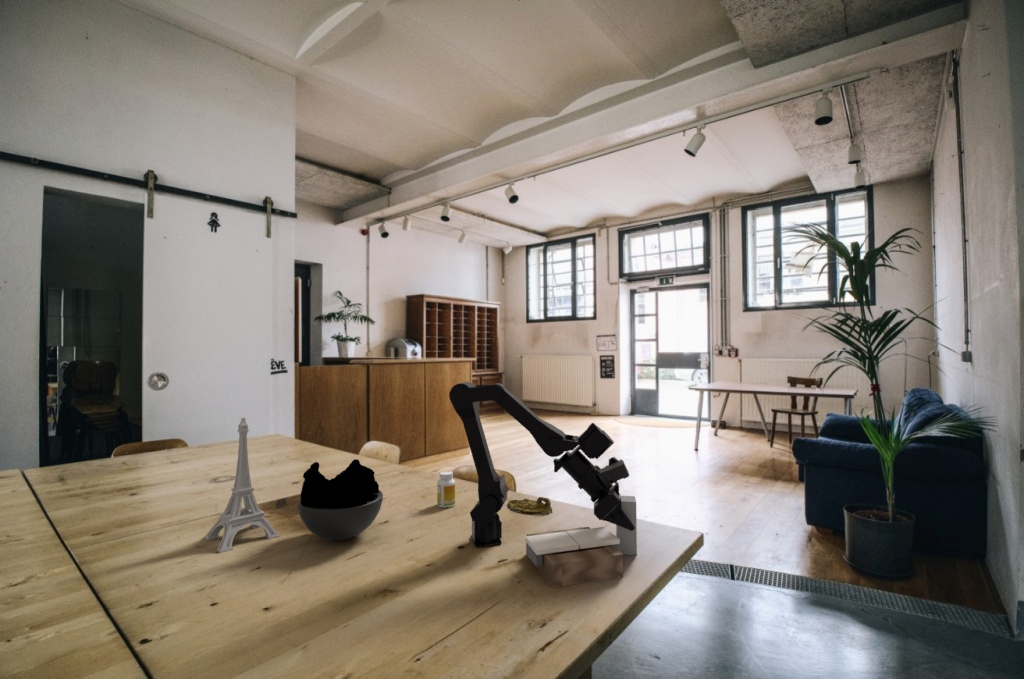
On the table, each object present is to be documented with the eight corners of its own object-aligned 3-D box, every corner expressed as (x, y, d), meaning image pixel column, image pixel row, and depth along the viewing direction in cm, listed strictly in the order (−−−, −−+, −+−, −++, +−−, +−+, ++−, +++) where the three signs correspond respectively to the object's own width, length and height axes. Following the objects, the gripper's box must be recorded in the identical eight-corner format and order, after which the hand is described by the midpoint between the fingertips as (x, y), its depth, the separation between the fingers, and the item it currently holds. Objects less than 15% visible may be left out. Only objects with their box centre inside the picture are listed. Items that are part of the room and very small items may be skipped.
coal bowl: (399, 530, 122) (399, 457, 123) (341, 561, 104) (342, 475, 105) (341, 518, 131) (341, 451, 131) (278, 545, 113) (279, 466, 113)
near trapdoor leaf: (536, 567, 96) (536, 550, 96) (525, 552, 103) (525, 536, 103) (578, 561, 99) (578, 544, 99) (564, 547, 106) (564, 531, 106)
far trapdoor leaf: (603, 542, 108) (603, 526, 109) (619, 555, 101) (619, 539, 101) (566, 547, 106) (566, 531, 106) (580, 561, 99) (580, 544, 99)
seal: (500, 513, 139) (546, 521, 131) (498, 498, 138) (545, 505, 131) (515, 501, 147) (559, 508, 140) (514, 486, 147) (558, 492, 139)
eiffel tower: (203, 538, 118) (205, 418, 119) (260, 523, 128) (261, 413, 129) (220, 553, 109) (221, 423, 110) (280, 536, 119) (281, 417, 119)
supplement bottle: (458, 503, 144) (458, 471, 144) (450, 509, 139) (450, 475, 139) (442, 501, 146) (442, 470, 146) (434, 507, 141) (434, 474, 141)
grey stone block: (616, 553, 108) (616, 501, 108) (616, 546, 112) (615, 495, 112) (636, 555, 107) (636, 502, 107) (635, 547, 111) (634, 496, 111)
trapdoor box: (552, 587, 92) (552, 564, 92) (526, 554, 107) (526, 534, 108) (623, 576, 97) (622, 554, 97) (588, 545, 112) (588, 526, 112)
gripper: (608, 457, 101) (662, 512, 99) (607, 441, 120) (652, 487, 118) (572, 492, 103) (624, 547, 100) (576, 471, 121) (620, 517, 119)
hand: (632, 522), depth 109 cm, fingers open, 9 cm apart
